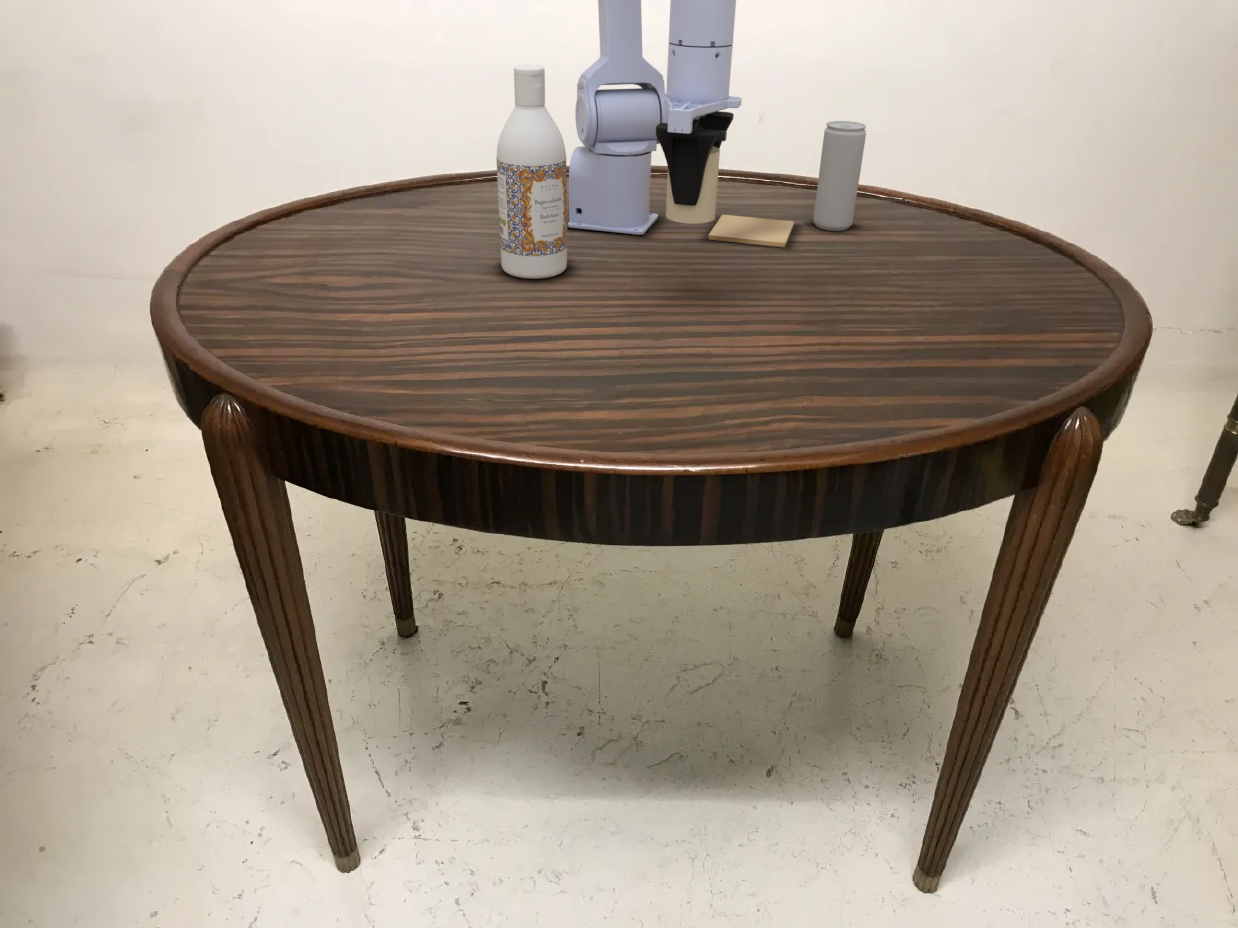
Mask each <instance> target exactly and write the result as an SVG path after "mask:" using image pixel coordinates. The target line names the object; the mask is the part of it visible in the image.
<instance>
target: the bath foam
mask: <svg viewBox="0 0 1238 928" xmlns="http://www.w3.org/2000/svg"><path fill="white" fill-rule="evenodd" d="M545 75H546V74H545V67H544V66H543V65H539V64H518V65H515V66H514V67H513V82H514V83H513V88H514V104H515V105H514V108H513V109H512V111H511V113H510V114H509V117H508V118H507V120H506V121H505V123H504V125H503V127H502V130H501V132H500V135H499V138H498V142H497V147H496V159H495V160H496V180H497V181H496V182H497V201H498V222H499V223H498V224H499V226H498V227H499V244H500V245H499V247H500V263H501V268H502V271H504V272H505V273H506V274H508V275H510V276H512V277H516V278H520V279H530V280H538V279H547V278H553V277H555V276H558V275H561V274H562V273H563V272H564V271H565V270H566V269H567V267H568V266H567V265H568V226H567V223H568V201H567V200H568V199H567V197H568V194H567V193H568V190H567V189H568V188H567V186H568V185H567V184H568V183H567V181H568V180H567V152H566V145H565V142H564V139H563V135H562V133H561V131H560V129H559V127H558V125H557V123H556V122H555V120H554V118H553V117H552V115H551V114H550V112H549V111H548V109H547V107H546V79H545V78H546V76H545Z"/></svg>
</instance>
